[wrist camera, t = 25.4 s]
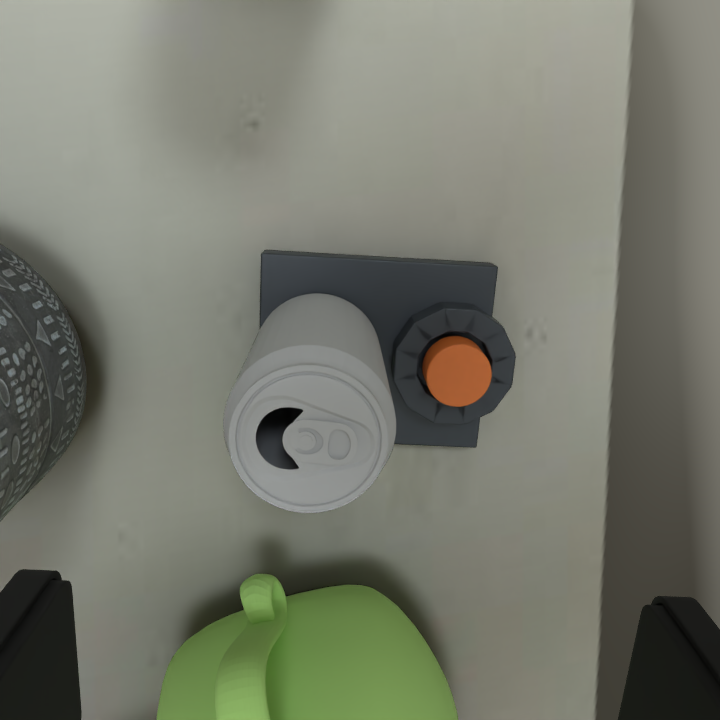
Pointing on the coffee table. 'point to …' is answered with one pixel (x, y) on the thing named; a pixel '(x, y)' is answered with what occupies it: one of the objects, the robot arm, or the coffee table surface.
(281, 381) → the beverage can
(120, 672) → the coffee table surface
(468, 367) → the button
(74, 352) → the planter
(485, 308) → the button base
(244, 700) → the teapot
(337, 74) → the coffee table surface
